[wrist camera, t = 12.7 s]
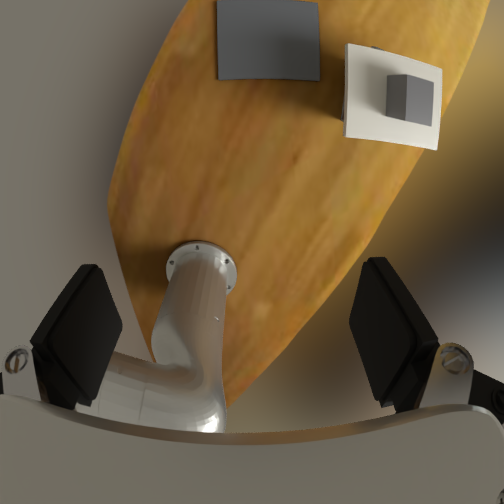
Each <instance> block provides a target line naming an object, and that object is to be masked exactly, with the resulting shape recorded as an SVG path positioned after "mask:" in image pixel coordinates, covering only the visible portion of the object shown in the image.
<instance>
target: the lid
mask: <svg viewBox="0 0 504 504" xmlns="http://www.w3.org/2000/svg"><path fill="white" fill-rule="evenodd" d="M441 100H442V69H440V68H437V67H435V66H432V65H429V64H426V63H423V62H420V61H417V60H414V59H411V58H408V57H404V56H401V55H397V54H394V53H390V52H386V51H382V50H378V49H373V48H369V47H364V46H359V45H354V44H349V43H348V44H345V102H344V126H343V136H345V137H350V138H360V139H369V140H377V141H385V142H392V143H399V144H405V145H411V146H417V147H422V148H428V149H433V150H437V145H438V137H439V128H440V116H441Z"/></svg>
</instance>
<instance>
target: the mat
mask: <svg viewBox="0 0 504 504" xmlns="http://www.w3.org/2000/svg"><path fill="white" fill-rule="evenodd" d="M217 38H218V78H219V80H233V79H292V80H309V81H320V44H319V19H318V3H313V2H304V1H293V0H220V1H217Z"/></svg>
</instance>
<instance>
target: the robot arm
mask: <svg viewBox="0 0 504 504" xmlns="http://www.w3.org/2000/svg"><path fill="white" fill-rule="evenodd" d="M227 259H228V260H227ZM166 275H167V279H168V281H169V284H168V287H167V290H166V293H165V296H164V299H163V302H162V305H161V308H160V311H159V314H158V317H157V320H156V323H155V326H154V329H153V333H152V341H151V343H152V350H153V354H154V357H155V359H156V362H157V363H152V362H148V361H145V360H142V359H138V358H134V357H132V356H129V355H125V354H122V353H119V352H116V351H114V348H115V346H116V343H117V341H118V338H119V336H120V333H121V331H122V320H121V318H120V316H119V313H118V311H117V308H116V306H115V303H114V301H113V298H112V295H111V293H110V290H109V288H108V285H107V282H106V279H105V276H104V274H103V271H102V270H101V268H99V267H98V266H97V265H96V264H84V265H81V266H80V268H79V269H78V270H77V272H76V273H75V274H74V276H73V277H72V278H71V280H70V281H69V282H68V284H67V285H66V286H65V288H64V289H63V291H62V292H61V294H60V295H59V296H58V298H57V299H56V301H55V302H54V304H53V305H52V307H51V308H50V310H49V311H48V313H47V314H46V316H45V317H44V319H43V320H42V322H41V323H40V325H39V327H38V328H37V330H36V331H35V333H34V335H33V336H32V338H31V340H30V343H31V344H32V345H33V349H32V350H31V349H30V348H29V347H27V346H25V345H19V346H16V347H14V348H13V349H11V350H10V351H9V352H8V353H7V354H6V356H5V357H4V360H3V362H2V372H1V373H0V504H504V384H503V383H502V382H499V381H497V380H495V379H493V378H491V377H489V376H487V375H485V374H482V373H480V372H478V371H476V370H474V361H473V359H472V356H471V355H470V353H469V352H468V351H467V350H466V349H465V348H464V347H463V346H461V345H459V344H456V343H445V344H442V345H441V346H440V344H439V343H438V337H437V336H436V334H435V332H434V330H433V329H432V327H431V325H430V324H429V322H428V320H427V319H426V317H425V316H424V314H423V313H422V311H421V309H420V308H419V306H418V304H417V303H416V301H415V300H414V298H413V297H412V295H411V294H410V292H409V291H408V289H407V288H406V286H405V285H404V283H403V282H402V280H401V279H400V277H399V276H398V274H397V273H396V272H395V270H394V269H393V267H392V266H391V264H390V263H389V262H388V260H387V259H386V258H385V257H370V258H369V259H368V260H367V262H364V263H363V266H362V271H361V275H360V279H359V283H358V287H357V292H356V296H355V299H354V303H353V307H352V310H351V314H350V318H349V325H350V329H351V331H352V334H353V337H354V340H355V342H356V345H357V348H358V351H359V353H360V356H361V359H362V362H363V365H364V368H365V371H366V374H367V377H368V380H369V383H370V386H371V389H372V393H373V396H374V398H375V400H376V401H378V400H379V402H380V405H381V408H383V407H387V406H392V405H394V408H395V410H396V413H395V414H393V415H390V416H385V417H380V418H376V419H371V420H366V421H360V422H354V423H349V424H343V425H337V426H330V427H323V428H315V429H306V430H295V431H283V432H262V433H224V430H225V427H226V403H225V397H224V391H223V384H222V369H221V361H222V343H223V329H224V316H225V304H226V295H228V294H229V293H230V292H231V291H232V289H233V288H234V286H235V283H236V280H237V268H236V265H235V262H234V261H233V259H232V257H231V256H230V255H229V254H228V253H227V252H226V251H225V250H224V249H223V248H221V247H219V246H217V245H215V244H212V243H210V242H204V241H193V242H188V243H185V244H182V245H181V246H179V247H177V248H176V249H175V250H174V251H173V252H172V254H171V255H170V257H169V259H168V261H167V265H166Z"/></svg>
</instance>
